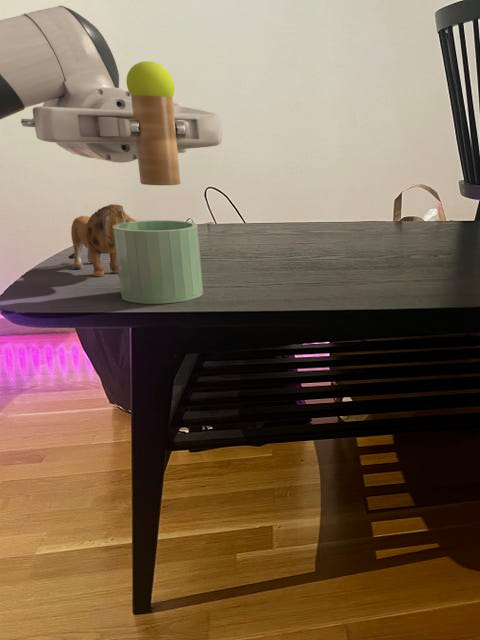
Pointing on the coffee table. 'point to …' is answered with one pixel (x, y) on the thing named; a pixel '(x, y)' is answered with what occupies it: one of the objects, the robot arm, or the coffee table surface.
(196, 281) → the green faceted pot
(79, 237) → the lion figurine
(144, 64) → the ball peg
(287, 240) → the coffee table surface
